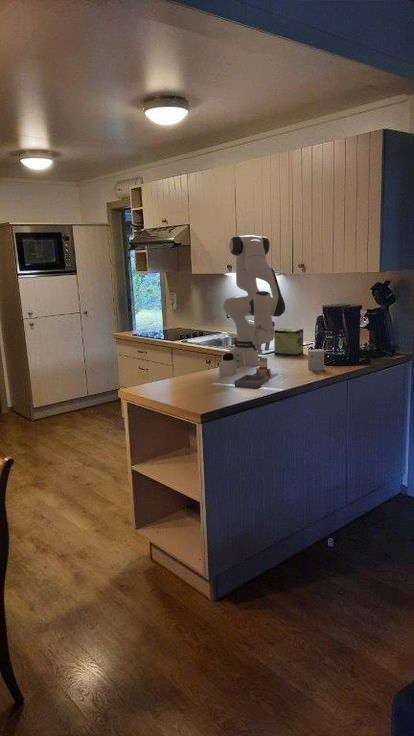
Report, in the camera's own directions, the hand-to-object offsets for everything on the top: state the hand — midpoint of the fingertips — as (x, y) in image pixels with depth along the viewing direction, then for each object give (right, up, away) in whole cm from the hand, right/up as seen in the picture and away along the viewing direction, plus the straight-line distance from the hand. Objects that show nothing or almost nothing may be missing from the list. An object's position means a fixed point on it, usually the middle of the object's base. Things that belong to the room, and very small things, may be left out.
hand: (263, 351), depth 263 cm
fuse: (0, -12, +3) cm, 13 cm away
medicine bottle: (-17, -13, +11) cm, 24 cm away
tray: (-7, -16, -10) cm, 20 cm away
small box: (+30, -9, +19) cm, 37 cm away
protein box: (+23, 0, +64) cm, 68 cm away
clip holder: (0, -13, +3) cm, 14 cm away
